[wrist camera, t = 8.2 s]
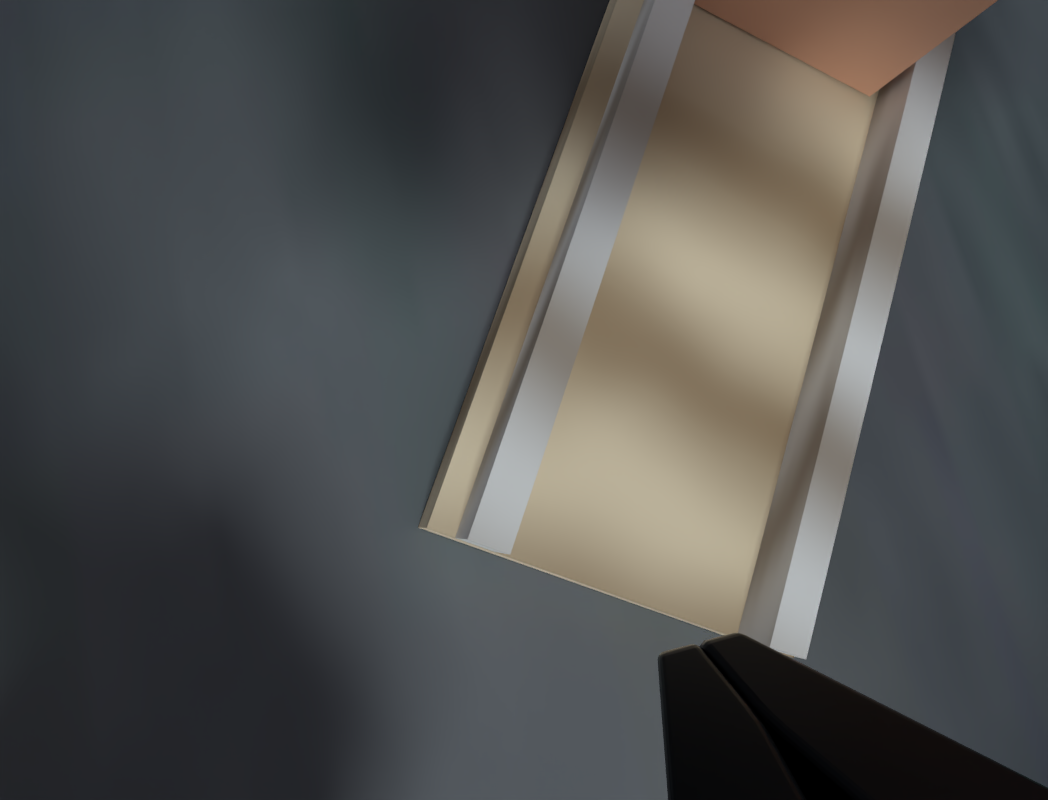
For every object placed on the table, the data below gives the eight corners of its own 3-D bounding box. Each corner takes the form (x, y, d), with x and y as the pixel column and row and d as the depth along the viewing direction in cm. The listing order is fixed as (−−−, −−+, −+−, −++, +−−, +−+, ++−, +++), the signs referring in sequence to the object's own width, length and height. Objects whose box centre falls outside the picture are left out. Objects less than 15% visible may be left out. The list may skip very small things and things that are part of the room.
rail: (761, 648, 22) (943, 700, 15) (418, 527, 20) (469, 530, 14) (931, -26, 27) (1119, -190, 21) (672, -175, 25) (794, -405, 19)
